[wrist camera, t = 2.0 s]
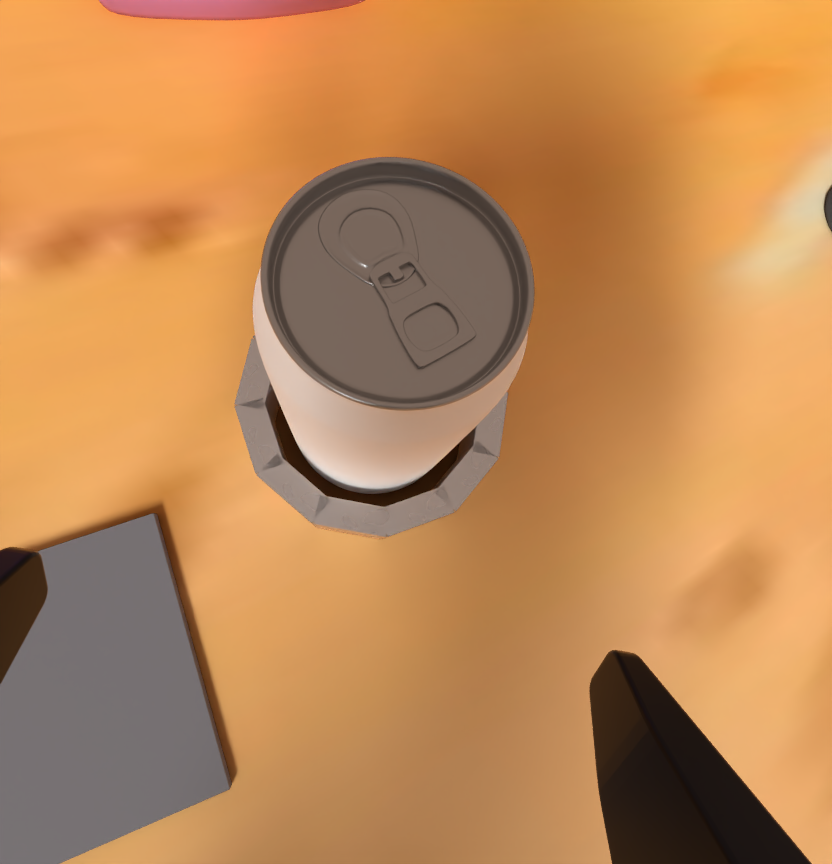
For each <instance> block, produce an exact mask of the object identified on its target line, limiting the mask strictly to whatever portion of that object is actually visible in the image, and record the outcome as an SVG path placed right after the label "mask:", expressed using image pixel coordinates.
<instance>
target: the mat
mask: <svg viewBox="0 0 832 864" xmlns="http://www.w3.org/2000/svg"><path fill="white" fill-rule="evenodd" d="M37 552H38V553H39V554H40V555H41V557H42V561H43V566H44V570H45V575H46V580H47V585H48V594H47V598H46V600H45V603H44V605H43V607H42V609H41V611H40V612H39V614H38V616H37V618H36V620H35V622H34V624H33V625H32V627H31V629H30V631H29V633H28V635H27V636H26V638H25V640H24V642H23V644H22V646H21V648H20V649H19V651H18V653H17V655H16V657H15V659H14V661H13V662H12V664H11V666H10V668H9V670H8V672H7V673H6V675H5V677H4V679H3V681H2V683H1V685H0V864H59V863H62V862H64V861H66V860H69V859H71V858H73V857H76V856H78V855H80V854H82V853H85V852H87V851H89V850H92V849H94V848H96V847H98V846H101V845H103V844H105V843H108V842H110V841H112V840H114V839H117V838H119V837H121V836H124V835H126V834H128V833H130V832H133V831H135V830H137V829H140V828H142V827H144V826H147V825H149V824H151V823H153V822H156V821H158V820H160V819H163V818H165V817H167V816H169V815H172V814H174V813H176V812H179V811H181V810H183V809H185V808H188V807H190V806H192V805H195V804H197V803H199V802H202V801H204V800H206V799H208V798H211V797H213V796H215V795H218V794H220V793H222V792H224V791H227V790H229V789H230V787H231V785H232V783H231V779H230V776H229V772H228V768H227V765H226V761H225V758H224V754H223V750H222V747H221V743H220V740H219V736H218V732H217V729H216V725H215V722H214V718H213V714H212V711H211V707H210V704H209V700H208V696H207V693H206V689H205V685H204V682H203V678H202V675H201V671H200V667H199V664H198V660H197V657H196V653H195V649H194V646H193V642H192V639H191V635H190V631H189V628H188V624H187V621H186V617H185V613H184V610H183V606H182V603H181V599H180V595H179V592H178V588H177V584H176V581H175V577H174V574H173V570H172V566H171V563H170V559H169V556H168V552H167V548H166V545H165V541H164V538H163V534H162V530H161V527H160V523H159V520H158V516H157V514H155V513H152V514H149V515H146V516H143V517H140V518H137V519H134V520H131V521H128V522H125V523H122V524H119V525H116V526H113V527H110V528H107V529H104V530H101V531H98V532H95V533H92V534H89V535H86V536H83V537H79V538H76V539H73V540H70V541H67V542H64V543H61V544H58V545H55V546H52V547H49V548H46V549H43V550H40V551H37Z"/></svg>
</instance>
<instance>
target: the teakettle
mask: <svg viewBox="0 0 832 864" xmlns="http://www.w3.org/2000/svg"><path fill="white" fill-rule="evenodd" d="M99 1H100V3H101V4H102V5H103V6H104V7H105V8H107V9H108V10H109V11H112V12H114V13H117V14H121V15H127V16H133V17H144V18H156V19H184V20H248V19H262V18H272V17H281V16H289V15H297V14H305V13H312V12H319V11H326V10H332V9H337V8H343V7H348V6H351V5H354V4H358V3H361V2H362V1H364V0H99Z"/></svg>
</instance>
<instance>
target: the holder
mask: <svg viewBox="0 0 832 864" xmlns="http://www.w3.org/2000/svg"><path fill="white" fill-rule="evenodd" d="M507 391H508V390H507ZM507 397H508V392H506V393H505V394H504V396H503V397H502V398H501V400H500V401H499V402H498V403H497V405H496V406H495V407H494V408H493V409H492V410H491V411H490V412H489V414H488V415H487V416H486V417H485V418H484V419H483V420H482V421H481V422H480V423H479V424H478V425H477V426H476V427H475V428H474V429H473V430H472V431H471V432H470V433H469V434H468V435H467V436H465V437H464V438H463V439H462V440H461V441H460V443H459V449H458V456H457V460H456V461H455V462H454V463H453V465H452V466H451V467H450V468H449V469H448V471H447V472H446V473H445V474H444V475H443V477H442V478H441V479H440V480H439V481H438V483H437V484H436V485H435V486H434V487H433V489H432V490H431V491H428V492H425V493H422V494H420V495H417V496H414V497H411V498H408V499H406V500H403V501H400V502H397V503H394V504H392V505H389V506H386V507H382V506H376V505H371V504H366V503H360V502H355V501H350V500H344V499H339V498H334V497H328V496H326V495H325V494H323V493H322V492H321V491H320V490H319V489H318V488H317V487H315V486H314V485H313V484H312V483H311V482H310V481H308V480H307V479H306V478H305V477H304V476H303V475H302V474H300V473H299V472H298V471H297V470H296V469H295V468H293V467H292V466H291V465H290V464H289V463H288V462H287V459H286V456H285V452H284V449H283V446H282V443H281V440H280V437H279V434H278V431H277V428H276V425H275V422H276V417H277V413H278V409H279V405H280V404H279V401H278V399H277V397H276V394H275V392H274V389H273V387H272V385H271V382H270V380H269V377H268V375H267V372H266V370H265V367H264V364H263V361H262V358H261V355H260V352H259V349H258V345H257V341H256V337H255V335H254V336H253V339H252V340H251V344H250V348H249V351H248V355H247V359H246V363H245V366H244V370H243V374H242V378H241V382H240V385H239V389H238V393H237V397H236V400H235V409H236V412H237V416H238V419H239V422H240V425H241V428H242V432H243V435H244V438H245V441H246V444H247V448H248V451H249V454H250V457H251V460H252V464H253V467H254V470H255V473H256V474H257V476H258V477H259V478H261V479H262V480H263V481H264V482H265V483H266V484H267V485H268V486H269V487H271V488H272V489H273V490H274V491H275V492H276V493H277V494H279V495H280V496H281V497H282V498H283V499H284V500H286V501H287V502H288V503H289V504H290V505H291V506H292V507H294V508H295V509H296V510H297V511H298V512H299V513H300V514H302V515H303V516H304V517H305V518H306V519H307V520H308V521H310V522H311V523H312V524H313V525H314V526H315V527H317V528H322V529H327V530H332V531H338V532H343V533H349V534H354V535H360V536H365V537H371V538H376V539H383V538H386V537H389V536H391V535H394V534H397V533H400V532H402V531H405V530H408V529H410V528H413V527H416V526H419V525H421V524H424V523H427V522H430V521H432V520H435V519H438V518H440V517H443V516H446V515H449V514H451V513H454V512H455V511H457V509H458V508H459V507H460V506H461V504H462V503H463V502H464V501H465V499H466V498H467V497H468V496H469V495H470V493H471V492H472V491H473V490H474V488H475V487H476V486H477V485H478V483H479V482H480V481H481V480H482V478H483V477H484V476H485V475H486V473H487V472H488V471H489V470H490V468H491V467H492V466H493V465H494V464H495V462H496V461H497V460H498V457H499V455H500V447H501V440H502V433H503V426H504V419H505V412H506V404H507Z"/></svg>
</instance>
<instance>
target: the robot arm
mask: <svg viewBox="0 0 832 864" xmlns="http://www.w3.org/2000/svg"><path fill="white" fill-rule="evenodd" d="M47 594H48V585H47V580H46V575H45V570H44V566H43V561H42V557H41V555H40V554H39V553H38V552H37V551H34V550H28V549H23V548H17V547H9V548H5V549H3V550H0V685H1V683H2V681H3V679H4V677H5V675H6V673H7V672H8V670H9V668H10V666H11V664H12V662H13V661H14V659H15V657H16V655H17V653H18V651H19V649H20V648H21V646H22V644H23V642H24V640H25V638H26V636H27V635H28V633H29V631H30V629H31V627H32V625H33V624H34V622H35V620H36V618H37V616H38V614H39V612H40V611H41V609H42V607H43V605H44V603H45V600H46V598H47ZM590 704H591V715H592V726H593V737H594V748H595V759H596V770H597V779H598V788H599V795H600V801H601V807H602V812H603V818H604V823H605V828H606V833H607V839H608V844H609V849H610V854H611V860H612V864H812V863H811V862H810V861H809V860H808V859H807V857H806V856H805V855H804V854H803V853H802V851H801V850H800V849H799V848H798V847H797V845H796V844H795V843H794V842H793V841H792V839H791V838H790V837H789V836H788V835H787V833H786V832H785V831H784V830H783V829H782V827H781V826H780V825H779V824H778V823H777V821H776V820H775V819H774V818H773V817H772V815H771V814H770V813H769V812H768V811H767V809H766V808H765V807H764V806H763V805H762V803H761V802H760V801H759V800H758V799H757V797H756V796H755V795H754V794H753V793H752V791H751V790H750V789H749V788H748V787H747V785H746V784H745V783H744V782H743V781H742V779H741V778H740V777H739V776H738V775H737V773H736V772H735V771H734V770H733V769H732V767H731V766H730V765H729V764H728V763H727V761H726V760H725V759H724V758H723V757H722V755H721V754H720V753H719V752H718V751H717V749H716V748H715V747H714V746H713V745H712V743H711V742H710V741H709V740H708V739H707V737H706V736H705V735H704V734H703V733H702V731H701V730H700V729H699V728H698V727H697V725H696V724H695V723H694V722H693V721H692V719H691V718H690V717H689V716H688V715H687V713H686V712H685V711H684V710H683V709H682V707H681V706H680V705H679V704H678V703H677V701H676V700H675V699H674V698H673V697H672V695H671V694H670V693H669V692H668V691H667V689H666V688H665V687H664V686H663V685H662V683H661V682H660V681H659V680H658V678H657V677H656V676H655V675H654V674H653V672H652V671H651V670H650V669H649V668H648V666H647V665H646V664H645V663H644V662H643V660H642V659H641V658H640V657H639V656H637V655H636V654H634V653H630V652H624V651H618V650H612V651H610V652H609V653H608V654H607V655H606V657H605V659H604V660H603V662H602V663H601V665H600V666H599V668H598V669H597V671H596V672H595V674H594V676H593V677H592V680H591V683H590Z"/></svg>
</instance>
